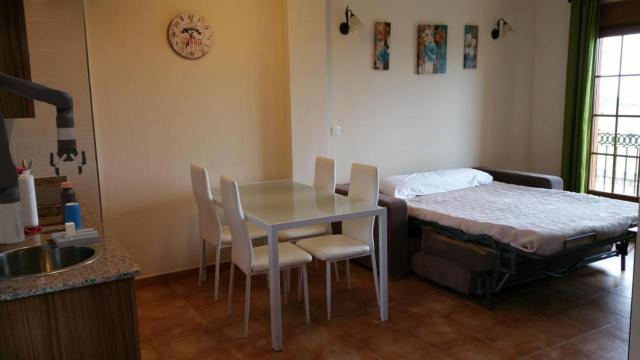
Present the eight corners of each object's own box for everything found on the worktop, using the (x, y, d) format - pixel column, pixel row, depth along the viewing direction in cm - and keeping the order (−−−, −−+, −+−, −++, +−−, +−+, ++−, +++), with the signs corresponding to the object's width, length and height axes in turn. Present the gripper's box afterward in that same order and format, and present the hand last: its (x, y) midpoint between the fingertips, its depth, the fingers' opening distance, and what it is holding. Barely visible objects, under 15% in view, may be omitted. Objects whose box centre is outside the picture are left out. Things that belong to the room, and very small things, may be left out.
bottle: (59, 223, 256) (55, 183, 253) (69, 220, 262) (66, 181, 259) (70, 224, 254) (67, 183, 251) (80, 221, 260) (77, 181, 257)
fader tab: (67, 236, 219) (66, 224, 218) (66, 234, 222) (65, 223, 222) (75, 235, 221) (74, 223, 220) (73, 233, 224) (72, 222, 223)
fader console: (59, 247, 212) (58, 239, 212) (52, 238, 227) (51, 231, 226) (100, 241, 221) (99, 233, 221) (91, 233, 236) (90, 225, 235)
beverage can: (84, 227, 247) (82, 202, 246) (76, 230, 241) (74, 205, 239) (71, 227, 248) (69, 202, 246) (63, 230, 242) (61, 205, 240)
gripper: (49, 139, 218) (52, 177, 220) (85, 138, 225) (88, 174, 228) (46, 138, 224) (49, 175, 226) (82, 137, 232) (85, 173, 234)
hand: (69, 175), depth 227 cm, fingers open, 8 cm apart
